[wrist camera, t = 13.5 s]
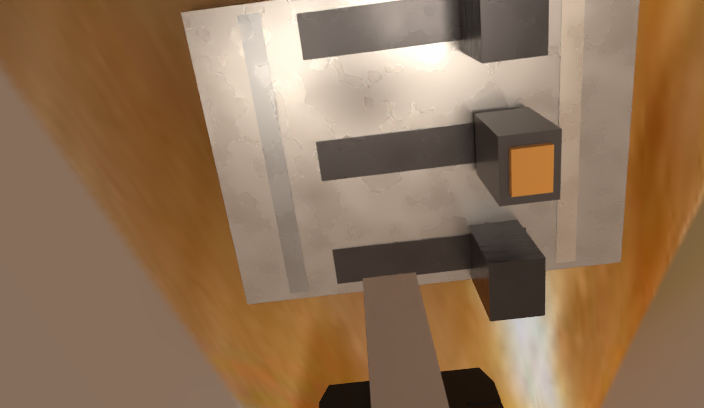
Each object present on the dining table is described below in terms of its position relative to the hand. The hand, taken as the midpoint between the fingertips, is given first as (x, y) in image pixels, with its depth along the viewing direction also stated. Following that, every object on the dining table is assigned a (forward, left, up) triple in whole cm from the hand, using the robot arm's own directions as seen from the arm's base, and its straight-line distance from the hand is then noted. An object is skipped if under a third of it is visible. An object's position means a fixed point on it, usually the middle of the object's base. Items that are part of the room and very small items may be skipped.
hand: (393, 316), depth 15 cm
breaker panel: (0, +3, -19) cm, 19 cm away
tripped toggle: (0, +8, -17) cm, 18 cm away
